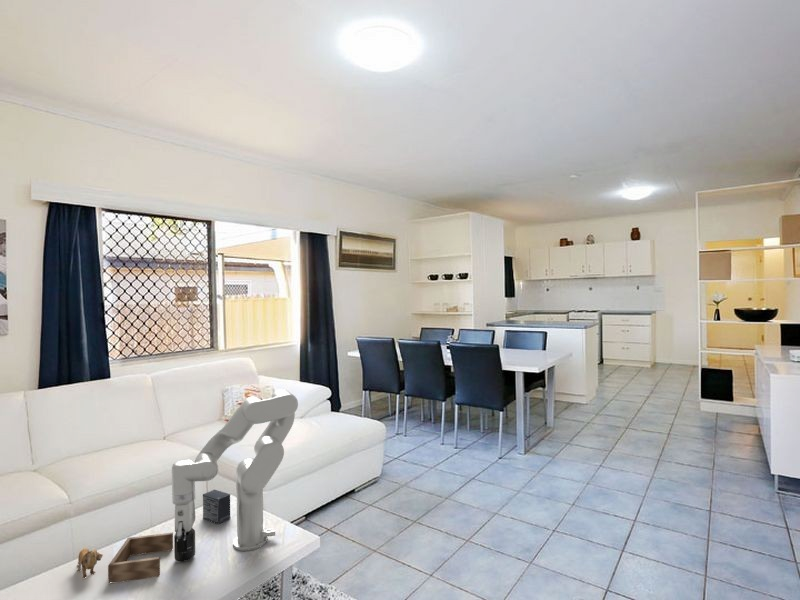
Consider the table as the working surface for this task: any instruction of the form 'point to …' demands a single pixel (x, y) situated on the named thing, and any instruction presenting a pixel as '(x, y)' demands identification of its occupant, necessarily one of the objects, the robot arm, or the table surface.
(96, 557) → the lion figurine
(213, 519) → the small box
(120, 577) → the walnut u-shaped bracket
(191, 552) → the supplement bottle
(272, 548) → the table surface
